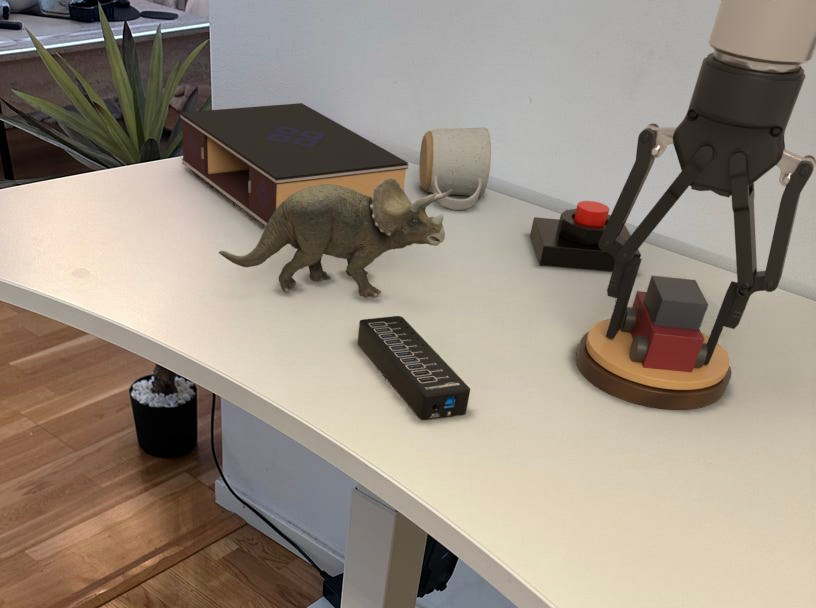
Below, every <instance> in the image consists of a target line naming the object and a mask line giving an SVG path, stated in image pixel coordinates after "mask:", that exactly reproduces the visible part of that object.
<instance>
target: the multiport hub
mask: <svg viewBox="0 0 816 608" xmlns="http://www.w3.org/2000/svg"><path fill="white" fill-rule="evenodd" d="M358 323H359V325H358V335H357V346H358V347H359V348H360V350H362V352H363V354H365V355H366V356H367V358H368V359H369V360H370V361H371V363H372V364H373V365H374V366H375V367H376V369H377V370H378V371H379V372H380V373H381V374H382V376H383V378H385V379H386V380H387V382H389V385H391V386H392V388H393V389H394V391H396V392H397V394H398V395H399V396H400V397H401V399H402V400H403V401H404V402H405V403H406V405H407V406H408V408H410V409H411V410H412V412H413V413H414V414H415V415H416V416H417V418H418V419H419V420H421V421H432V420H437V419H438V420H439V419H444V418H445V419H446V418H453V417H458V416H464V415H466V414H467V409H468V405H469V400H470V394H471V387H469V385H468V384H467V383H466V382H465V381H464V380H463V379H462V378H461V376H459V375H458V374H457V373H456V371H454V370H453V368H452V367H451V366H450V365H449V364H448V363H447V362H446V361H445V360H444V359H443V358H442V357H441V356H440V354H438V352H436V351H435V350H434V348H433V347H432V346H431V345H430V344H429V343H428V342H427V341H426V340H425V339H424V338H423V337H422V335H420V333H418V332H417V331H416V329H414V327H413V326H412V325H411V324H410V323H409V322H408V321H407V320H406V319H405V317H403V316H402V315H393V316H383V317H382V316H381V317H375V318H365V319H360V320H359V322H358Z"/></svg>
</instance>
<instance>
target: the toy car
mask: <svg viewBox="0 0 816 608" xmlns="http://www.w3.org/2000/svg"><path fill="white" fill-rule="evenodd" d="M650 276H651V277H650V279H649V283H648V286H647V289H646V291H641V290H637V291H636V293H635V297H634V300H633V303H632V306H627V309H626V312H625V315H624V319H623V322H622V325H621V328H620V330H619V331H618V333H617V334H616V336H615V337H614V339H612V338H609V337H606V334H607V330H608V327H609V324H610V320H611V317H609V318H605V319H603V320H600V321H598V322H596V323H595V324H593V325H592V327H590V328H589V330H588V331H589V332H588V331H587V332H588V335H587V339H586V348H587V351H588V353H589V354H590V356H591V357H592V358H593V359H594V360H595V361H596V362H597V363H598V364H599V365H601V366H602V367H604V368H605V369H607V370H608V371H610V372H612V373H614V374H616V375H618V376H620V377H623V378H625V379H628V380H630V381H633V382H637V383H640V384H644V385H647V386H652V387H657V388H664V389H673V390H694V389H701V388H706V387H710V386H712V385H715V384H717V383H718V382H720V381H721V380H722V379H723V378H724V377H725V375H726V373H727V371H728V368H729V365H730V366H731V361H730V357H729V356H730V355H729V354H728V352H727V351H726V349H725V348H724V347H723V346H722V345H721V344H720V343H718V342H717V345H716V347H715V350H714V353H713V355H712V357H711V359H710V362H709V364H708V365H707V364H704V362H705V360H706V356H707V342H708V339H709V337H710V336H708V335H707V334H705V333H703V332H702V331H701V329H700V328H701V326H702V323H703V320H704V317H705V315H706V312H707V309H708V307H709V302H708V300H707V299H706V297H705V295H704V293H703V291H702V289H701V287H700V286H699V284H698V282H697V280H696V279H689V278H679V277H669V276H663V275H662V276H660V275H650Z"/></svg>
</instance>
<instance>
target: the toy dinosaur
mask: <svg viewBox="0 0 816 608" xmlns="http://www.w3.org/2000/svg"><path fill="white" fill-rule="evenodd" d="M451 192H452V190H451V189H450V190H449V191H447V192H445V193H440V194H437V193H434V194H433V193H431V194H429V195H426V196H424V197H421V198H418V199H417V200H416V201H414V202H413V203H412V202H411V201H410V200H409V198H408V196H407V195H406V193H405V192H404V191H403V189H401V187H400V184H399V183H397V182H396V180H395V178H394V179H392V178H391V177H390V178H389V179H385V181H384V182H379V185H378V187H375V188H374V192H373V195H372V196H366V195H363V194H361V193H359V192H357V191H355V190H352V189H350V188H345V187H342V186H339V185H331V184H321V185H317V186H311V187H307V188H305V189H302V190H300V191H297V192H296V193H293V194H292V195H290V196H289V197H288V198H287V199H286V200H285V201H283V202H282V203H281V204H280V205H279V206H278V208H277V209H276V210H275V212H274V213H273V215H272V216H271V218H270V220H269V222H268V223H267V225H266V226H264V228H263V231H262V233H261V236H260V239H259V241H258V243H257V244H256V246H255V247H254V248H253V249H252V250H251V251H250V252H248V253H246V254H244V255H235V254H232V253H230V252H228V251H226V250H220V251H218V254H219V255H221V256H222V257H223V258H225V259H227V261H229V262H230V263H232V264H235V265H237V266H240V267H243V268H252V267H257V266H260V265H262V264H263V263H265V262H266V261H267V260H268V259H270V258H271V257H272V256H274V255H275V254H277V253H278V252H280V250H281V249H283V248H284V247H286V246H287V245H290V246H291V247H292V248H293V249H296V250H295V253H294V254H293V257H292V259H291V260H290V261H288V262H287V263H285V265H284V266H282V269H281V271H280V273H279V275H278V282H279V285H280V288H281V290H282V292H284V293H286V294H289V292H290V290H298V285H297V281H296V280H295V279H294V278H293V276H294V275H295V274H296V273H297V272H298V271H299V270H302V269H304V268H306V267H308V270H309V279H310V280H311V281H312V282H317V283H318V282H322V281H329V280H331V276H330V275H329V274H327V272H326V271H324V269H323V264H322V258H323V255H325V256H331V257H334V258H336V259H343V260H346V262H347V265H346V270H345V273H346V275H347V276H348V277H351V278H352V279H353V281H354V282H355V283H356V284H357V286H358V293H359V296H360V297H363V298H365V299H368V298H370V297H371V298H377V297H378V295H381V293H382V290H381V289H379V288H377V287H375V286H374V285H372V284H371V283H370V281H369V279H368V276H367V275H368V274H369V272H368V270H365V268H367V267H368V266H369V265H371V264H372V263H374V261H375V260H376V259H377V258H379V257H380V256H381V255H383V254H384V253H386V252H388V251H391V250H399V249H404V248H406V247H408V246H409V247H410V246H412V245H413V244H415V245H429V246H434V247H437V246H438V245H440V244H441V243H443V242H444V241H445V237H446V231H445V228H444V224H443V222H444V214H443V213H441V214H439V215H437V216H436V217H435V216H428V214H427V212H426V209H427V207H428V206H429V205H430V204H432V203H433V202H437V200H439V199H442V198H444V197H449V196H450V195H451V194H450V193H451Z"/></svg>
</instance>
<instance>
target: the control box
mask: <svg viewBox="0 0 816 608" xmlns="http://www.w3.org/2000/svg"><path fill="white" fill-rule="evenodd" d="M575 212H576V208H570V209H566V210H564V211H563V212H562V213H560V216H559V218H558V219H557V218H547V217H538V216H537V217H536V216H534V217H533V220H532V224H531V228H530V234H529V238H530V241H531V244H532V247H533V249H534V252H535V256H536V259H537V262H538V266H541V267H542V266H543V267H552V268H553V267H554V268H565V269H575V270H586V271H587V270H588V271H598V272H609V273H612V271H613V268H614V264H615V259H614V257H613V256H612V255H611V254H610V253H608V252H607V251H602V250H601V249H600V248H599V246H598V243H599V240H600V238H601V236H602V234H603V231H604V229H605V227H606V225H607V223H608V220H609V218H610V216H611V214H609V213H608V217H607V220H606V224H605V225H604V226H590V225H585V224H582V223H578V222H577V221H575V220H574V216H575ZM631 235H632V234H631V233H630V231H629V229H628V228H627V226H626V224H625V225H624V227H623V229H622V231H621V234H620V236H622V237H623V238H624V239H626V240H628V239H629V237H630V236H631ZM633 257H637V258H641V257H642V254H641V252H640V249H638V250H637V251H636V252H635V253H634V256H633Z"/></svg>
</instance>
